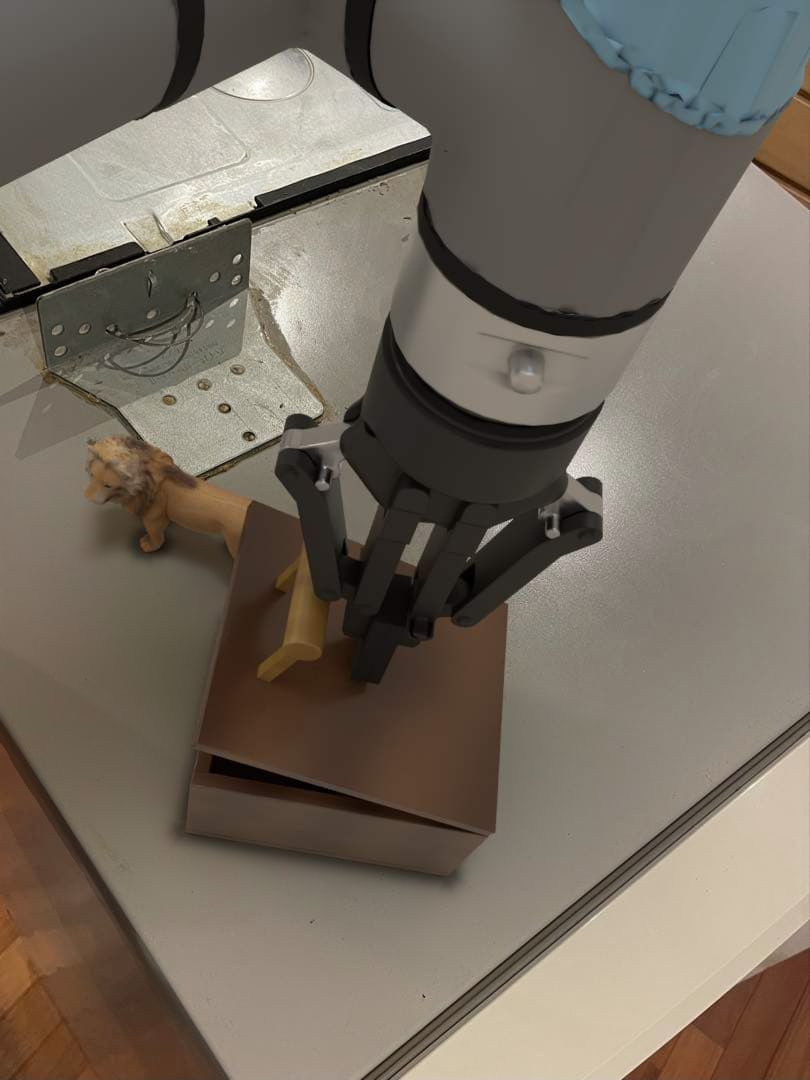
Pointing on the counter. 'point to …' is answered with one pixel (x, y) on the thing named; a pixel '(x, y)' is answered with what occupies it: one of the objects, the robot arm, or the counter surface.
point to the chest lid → (351, 691)
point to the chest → (317, 820)
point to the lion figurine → (160, 491)
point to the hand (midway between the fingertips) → (368, 657)
